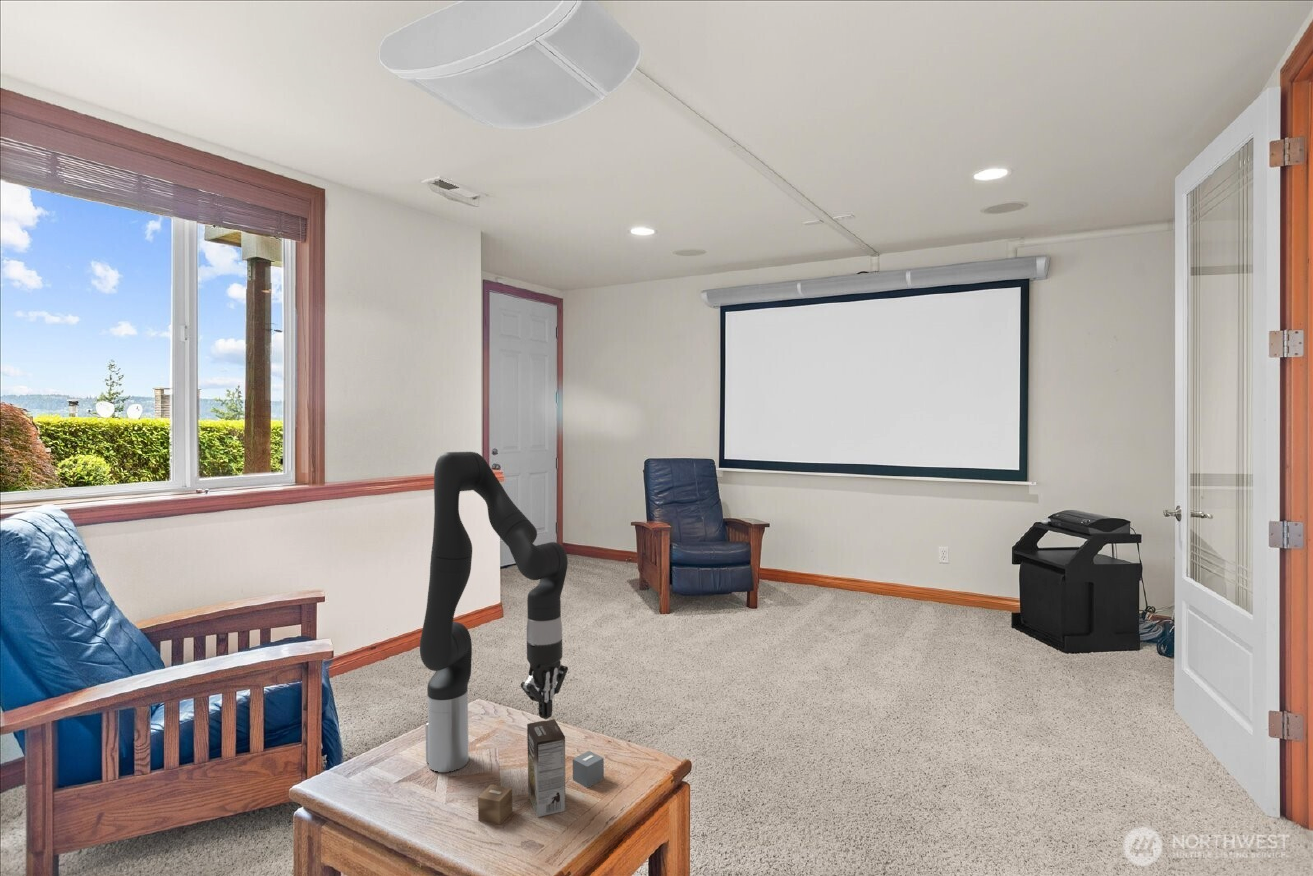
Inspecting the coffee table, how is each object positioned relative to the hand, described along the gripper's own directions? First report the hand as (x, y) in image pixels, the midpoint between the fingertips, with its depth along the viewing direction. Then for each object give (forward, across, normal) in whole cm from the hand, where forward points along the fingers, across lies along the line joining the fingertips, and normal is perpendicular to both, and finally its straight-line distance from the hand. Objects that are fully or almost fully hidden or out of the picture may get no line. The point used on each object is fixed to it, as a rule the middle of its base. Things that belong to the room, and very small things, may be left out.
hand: (545, 717), depth 141 cm
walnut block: (+19, +9, -6) cm, 22 cm away
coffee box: (+19, 0, 0) cm, 19 cm away
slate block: (+19, -12, +2) cm, 22 cm away
